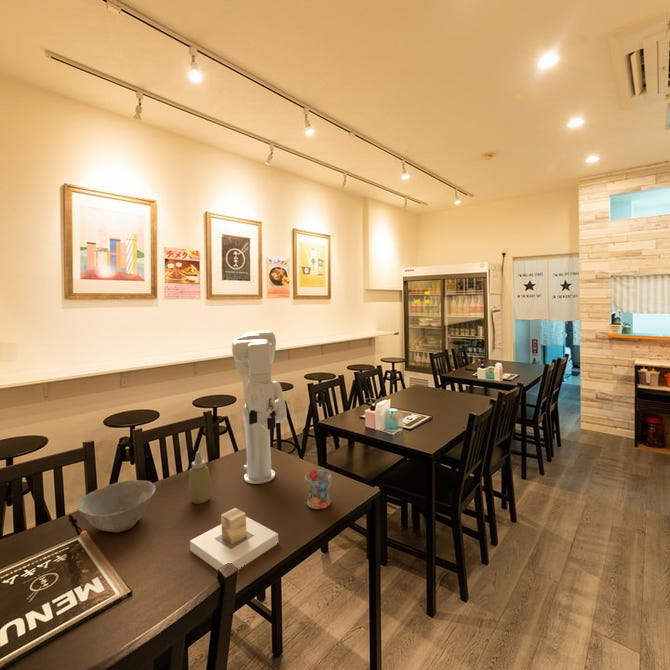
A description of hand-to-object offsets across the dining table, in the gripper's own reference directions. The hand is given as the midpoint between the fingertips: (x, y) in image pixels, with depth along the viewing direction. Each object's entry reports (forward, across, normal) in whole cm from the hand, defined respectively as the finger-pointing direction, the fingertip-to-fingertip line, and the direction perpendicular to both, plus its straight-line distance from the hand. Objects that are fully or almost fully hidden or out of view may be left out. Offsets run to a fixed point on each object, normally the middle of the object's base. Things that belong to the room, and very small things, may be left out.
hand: (262, 425), depth 137 cm
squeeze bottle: (+28, -21, -13) cm, 38 cm away
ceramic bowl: (+29, -28, -38) cm, 55 cm away
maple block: (+25, +12, -22) cm, 36 cm away
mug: (+28, +16, +12) cm, 35 cm away
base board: (+28, +12, -22) cm, 38 cm away
